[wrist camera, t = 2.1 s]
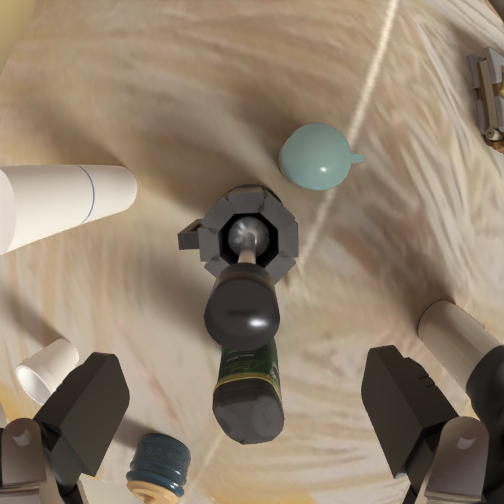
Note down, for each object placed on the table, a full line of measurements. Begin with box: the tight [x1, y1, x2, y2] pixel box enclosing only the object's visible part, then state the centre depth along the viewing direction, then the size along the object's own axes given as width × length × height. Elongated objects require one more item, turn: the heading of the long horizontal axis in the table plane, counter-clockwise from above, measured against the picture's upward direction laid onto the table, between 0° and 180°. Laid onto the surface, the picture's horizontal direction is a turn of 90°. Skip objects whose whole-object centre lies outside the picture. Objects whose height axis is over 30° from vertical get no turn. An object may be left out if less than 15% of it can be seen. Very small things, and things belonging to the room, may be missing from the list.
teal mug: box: [278, 123, 364, 190], centre depth 34 cm, size 10×8×9 cm
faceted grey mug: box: [178, 184, 299, 285], centre depth 33 cm, size 12×10×15 cm
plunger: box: [204, 216, 280, 351], centre depth 21 cm, size 4×4×18 cm
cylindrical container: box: [0, 165, 137, 255], centre depth 27 cm, size 7×7×25 cm
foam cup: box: [16, 338, 79, 405], centre depth 41 cm, size 10×9×13 cm
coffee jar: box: [213, 337, 284, 445], centre depth 37 cm, size 10×8×19 cm
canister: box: [126, 434, 191, 504], centre depth 46 cm, size 13×13×18 cm
